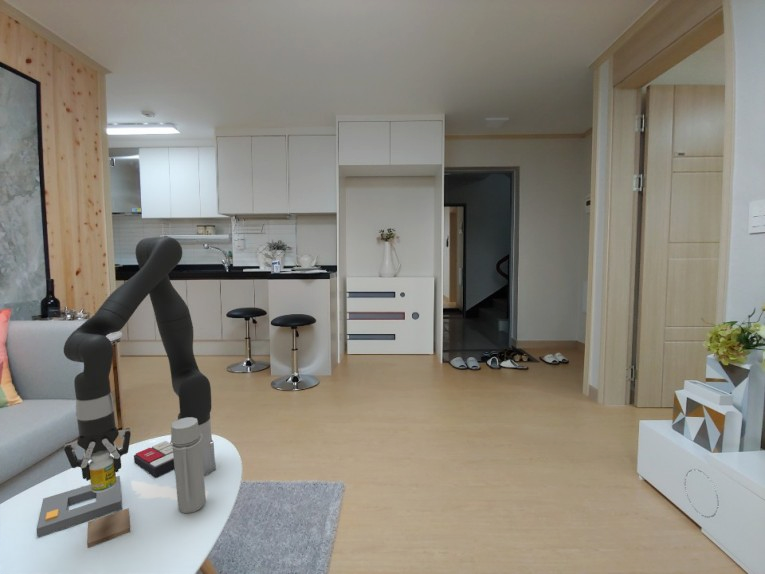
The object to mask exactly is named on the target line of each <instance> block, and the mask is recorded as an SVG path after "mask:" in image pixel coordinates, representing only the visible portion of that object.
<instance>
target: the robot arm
mask: <svg viewBox="0 0 765 574" xmlns="http://www.w3.org/2000/svg"><path fill="white" fill-rule="evenodd" d="M182 257H183V248H182V246H181V243H180V242H179V240H177V239H175V238H173V237H170V236H156V237H146V238H142V239H140V240H139V241H138V242H137V245H136V247H135V258H136V262H137V264H138V267H139V270H138V271H137V272H136V273H135V274H134V275H132V276H131V277H130V278H129V279H128V280H126V281H125V282H124V283H122V284H121V285H120V286H118V287H117V288H116V289H115V290H114V291H112V292H111V294H110V295H108V297H107V298H106V299H105V301H104V302H103V303H102V304H101V305H100V307H99V308H98V309H97V310H96V312H95V313H94V314H93V315H92V316H91V317H90V318H88V319H87V320H86V321H84V322H83V323H82V324H81V325H80V326H78V327H77V328H76V329H75V330H74V331H73V332H71V334H70V335H69V336H68V338H67V339H66V341H65V343H64V346H63V354H64V356H65V357H66V359H67V360H70V361H71V362H77V363H83V370H82V372H79V373H78V374H77V375H76V376H75V377H74V381H73V382H74V384H73V385H74V392H75V412H76V413H75V417H76V420H77V429H78V438H77V439H76V440H75V441H72V442H70V441H69V442H66V443H65V445H64V448H63V451H64V453H65V456H66V457H67V459H68V462H69V464H70V467H71V468H72V469H76V468H80V469H81V475H82V479H83V480H85V481H86V482H87V481H90V474H89V463H90V462H89V461H90V460H91V454H93V453H96V452H98V451H104V450H107V449H108V450H109V452H110V455H111V456H112V457H113V458H114V465H115V472H116V473H118V472H119V471H120V469H122V460H121V457H122V456H123V455H127V454H128V452H129V450H130V448H129V447H130V441H131V436H132V435H131V434H132V433H131V429H130V427H127V428H125V429H120V430H119V429H118V428H117V426H116V424H117V423H116V417H115V405H114V399H113V395H112V390H111V381H110V373H111V370H112V364H113V359H114V346H113V343H112V342H111V339H109V338H108V337H107V336H108V335H110V334H113V333H118V332H119V331H121V330H122V329H123V328H124V327H125V326H126V324H127V322H128V321H129V320H130V318H131V317H132V316H133V314H134V313H135V312H136V310H137V309H138V307H139V306H140V305H141V303H143V301H144V300H145V299H146V298H147V296H148V295H149V297H150V298H149V299H150V302H151V305H152V309H153V313H154V317H155V322H156V325H157V328H158V329H157V330H158V333H159V336H160V340H161V342H162V345H163V348H164V351H165V353H166V355H167V359H168V362H169V363H168V365H169V371H170V377H171V384H172V389H173V392H174V393H175V395H176V396H177V397H178V400H179V401H178V405H179V413H178V415H177V420H179V419H183V418H188V417H193V418H196V419H197V421H198V425H199V430H200V433H201V434H202V439H201V447H202V459H203V471H204V477H205V476H207V475H209V474H210V473H212V472H213V471H215V470H216V458H215V455H216V454H215V444H214V440H213V438H212V437H213V436H212V435H213V434H212V423H211V421H212V420H211V411H212V388H211V382H210V381H209V378H208V377H207V376H206V375H205V374H203V373H202V372H201V371H200V369H199V366H198V364H197V361H196V358H195V354H194V326H193V320H192V317H191V316H192V315H191V312H190V308H189V306H188V305H187V304H186V301H185V299H183V298H182V296H181V294H180V293H178V291H177V289H176V288H175V287H174V286H173V284H172V282H171V279H170V275H169V273H171V271H173V270H174V269H175V268H176V266H178V264H179V263H180V262H181V260H182ZM118 436H119V437H120V439H121V440H123V442H122V448H121V447H120V449H119V448H118V446H117V445H116V442H115V441H116V439H117V438H118ZM78 446H79V447H81V448H82V449H83V450H84V452H83V456H82V459H79V458H78V457H77V455H76V451H77V447H78Z"/></svg>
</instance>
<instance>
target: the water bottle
mask: <svg viewBox="0 0 765 574" xmlns="http://www.w3.org/2000/svg"><path fill="white" fill-rule="evenodd" d="M170 425H171V427H170V429H171V431H170V432H171V433H170V442H169V443H170V445H171V447H173V456H174V467H175V469H174V476H175V488H176V497H177V507H178V511H179V512H180V513H183V514H192V513H194V512H197V511H199V510H201V509H202V508H203V507H204V505H205V503H206V502H207V498H206V487H205V486H206V485H205V476H204V471H203V459H202V447H201V439H202V434H201V433H200V430H199V425H198V421H197V419H196V418H193V417H188V418H183V419H179V420H178V419H177V420H175V421H173V422H172V423H171V424H170ZM172 445H173V446H172Z"/></svg>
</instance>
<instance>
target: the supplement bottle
mask: <svg viewBox="0 0 765 574" xmlns="http://www.w3.org/2000/svg"><path fill="white" fill-rule="evenodd" d="M90 460H91V461H90V462H88V463H89V474H90V480H89V481H90V484H91V489H92V491H93V492H94V493H101V492H105V491H108V490H110V489H111V488H113V487H114V486H115V485H116V477H117V474H116V473H117V472H115V465H114V456H113V455H111V453H110V452H109V450H108V449H107V450H104V451H98V452H96V453H93V454H91V456H90Z"/></svg>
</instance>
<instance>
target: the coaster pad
mask: <svg viewBox="0 0 765 574" xmlns="http://www.w3.org/2000/svg"><path fill="white" fill-rule="evenodd" d="M129 510H130V509H129V508H128V507H127V508H124V509H121V510H118V511H115V512H112V513H109V514H106V515H103V516H100V517H97V518H94V519H91V520H88V521H87V533H86V535H87V538H86V546H87V549H89V548H92V547H94V546H97V545H99V544H103V543H104V542H108V541H110V540H113V539H116V538H118V537H121V536H123V535H126V534H128V533H131V532H132V531H131V521H130V511H129Z"/></svg>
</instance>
